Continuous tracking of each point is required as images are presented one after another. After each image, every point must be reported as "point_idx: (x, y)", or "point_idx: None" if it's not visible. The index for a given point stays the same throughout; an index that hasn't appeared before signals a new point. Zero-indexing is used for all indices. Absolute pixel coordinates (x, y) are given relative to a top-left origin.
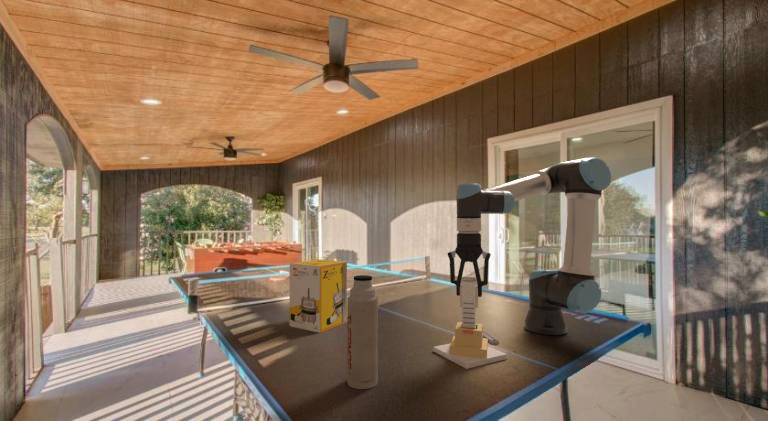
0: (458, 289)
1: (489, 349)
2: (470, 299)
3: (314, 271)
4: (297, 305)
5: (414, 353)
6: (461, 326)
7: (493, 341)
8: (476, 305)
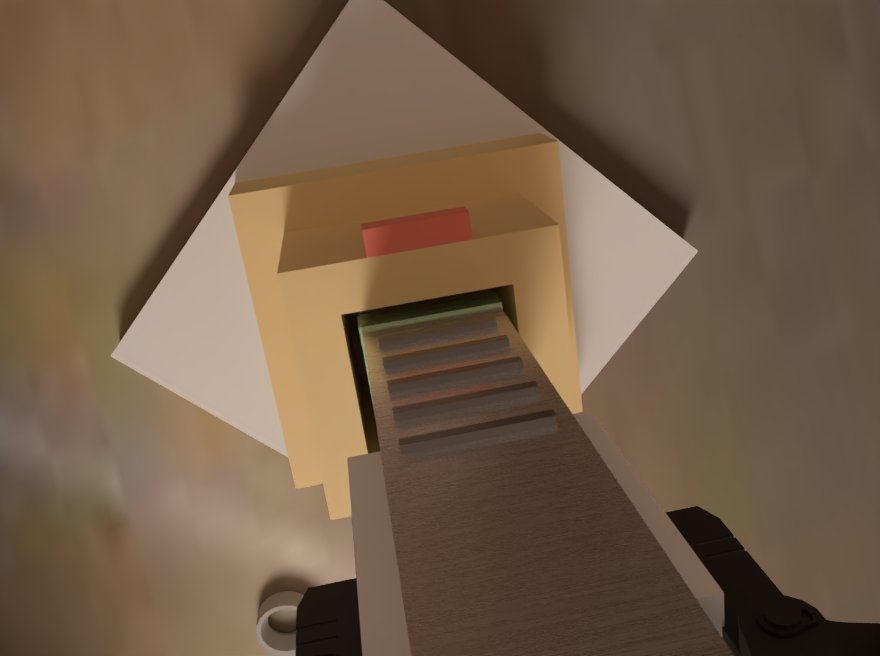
0: (721, 573)
1: (267, 392)
2: (461, 470)
3: None
4: None
5: (812, 132)
6: None
7: (293, 605)
8: (368, 470)
